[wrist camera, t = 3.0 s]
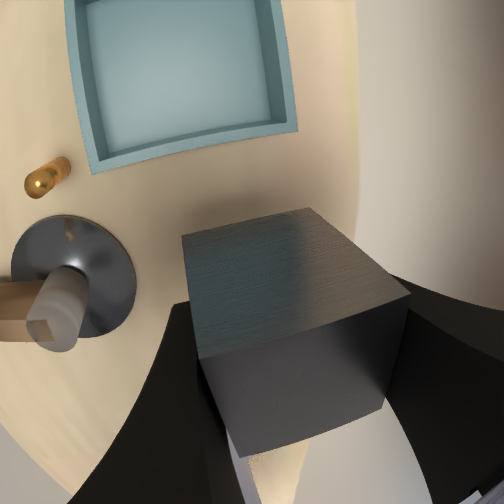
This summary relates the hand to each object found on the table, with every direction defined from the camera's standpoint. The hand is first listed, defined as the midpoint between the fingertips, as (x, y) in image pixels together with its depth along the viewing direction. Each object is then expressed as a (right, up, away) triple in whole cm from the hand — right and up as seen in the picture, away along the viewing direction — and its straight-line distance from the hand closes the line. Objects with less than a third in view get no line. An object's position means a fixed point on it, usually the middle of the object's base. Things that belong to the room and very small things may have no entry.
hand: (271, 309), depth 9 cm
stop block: (0, +1, +1) cm, 2 cm away
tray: (-4, +10, +2) cm, 11 cm away
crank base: (-10, +1, +4) cm, 11 cm away
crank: (-13, 0, +3) cm, 13 cm away
